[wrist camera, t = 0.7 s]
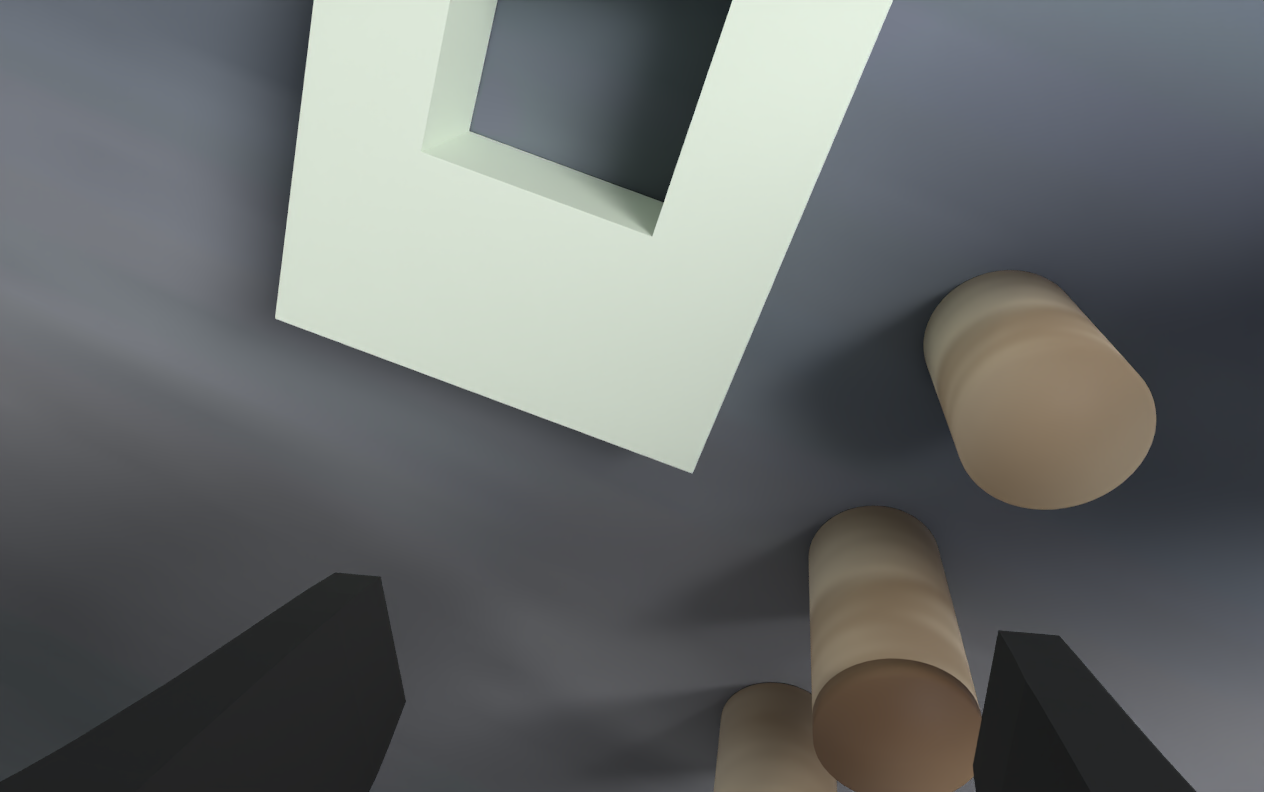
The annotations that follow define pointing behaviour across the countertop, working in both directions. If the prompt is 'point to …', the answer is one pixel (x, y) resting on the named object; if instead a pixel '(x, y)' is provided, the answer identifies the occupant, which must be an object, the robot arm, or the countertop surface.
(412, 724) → the countertop surface
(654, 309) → the board
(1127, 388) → the dowel short
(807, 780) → the dowel long
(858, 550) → the dowel medium
